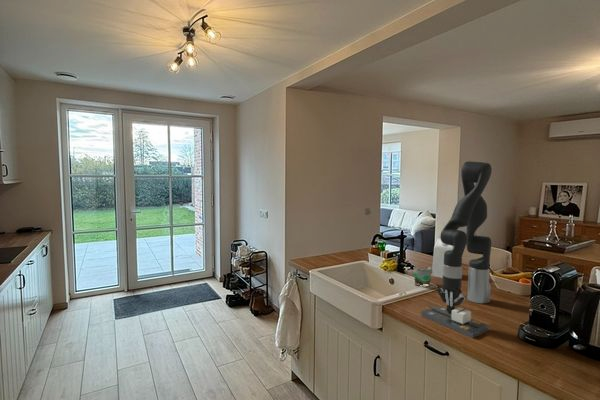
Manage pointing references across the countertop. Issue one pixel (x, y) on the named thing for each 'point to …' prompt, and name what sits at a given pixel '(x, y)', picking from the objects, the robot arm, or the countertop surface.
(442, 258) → the milk
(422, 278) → the food container
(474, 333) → the fader console
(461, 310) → the fader knob
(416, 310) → the countertop surface
